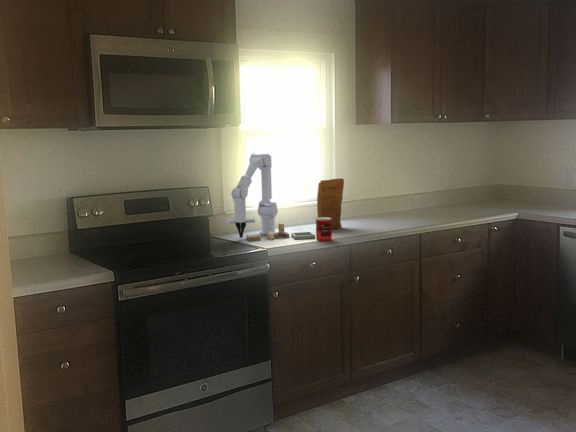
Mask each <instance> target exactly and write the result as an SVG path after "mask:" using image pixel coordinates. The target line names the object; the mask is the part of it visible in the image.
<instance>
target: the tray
mask: <svg viewBox="0 0 576 432" xmlns="http://www.w3.org/2000/svg"><path fill="white" fill-rule="evenodd" d="M291 237H292V238H293V239H294V240H315V239H316V235H315V233H313V232H311V231H303V232H302V231H301V232H291Z"/></svg>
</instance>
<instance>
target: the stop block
mask: <svg viewBox="0 0 576 432" xmlns="http://www.w3.org/2000/svg"><path fill="white" fill-rule="evenodd" d="M267 239H268V240H270V241H271V240H275V237H274V233H273V232H268V234H267Z"/></svg>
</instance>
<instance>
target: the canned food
mask: <svg viewBox="0 0 576 432" xmlns="http://www.w3.org/2000/svg"><path fill="white" fill-rule="evenodd" d="M315 229H316V230H315V234H316V235H315V239H316V241H318V242H330V241H332V239H333V231H332V230H333V229H332V219H331V218H329V217H320V218H317V217H316V218H315Z"/></svg>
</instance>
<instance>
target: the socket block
mask: <svg viewBox="0 0 576 432" xmlns="http://www.w3.org/2000/svg"><path fill="white" fill-rule="evenodd" d="M289 238H290V233H289V232H287V231H284V234H279V231H278V232H276V233H274V239H289Z"/></svg>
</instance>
